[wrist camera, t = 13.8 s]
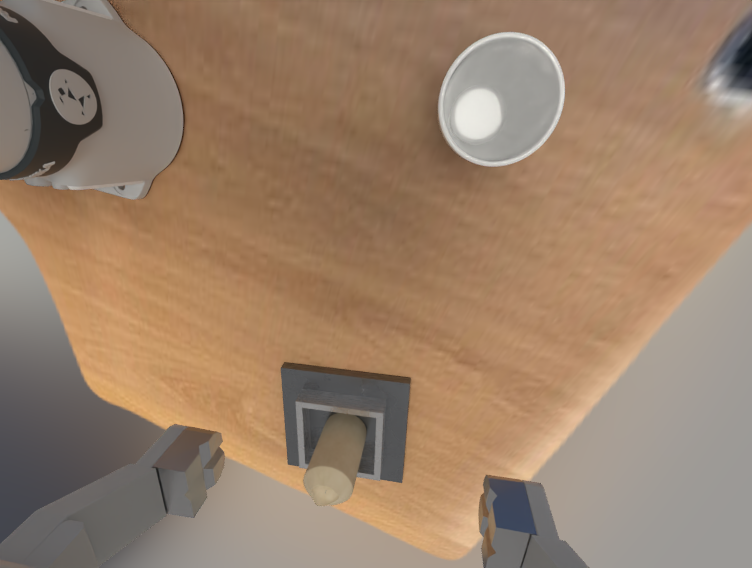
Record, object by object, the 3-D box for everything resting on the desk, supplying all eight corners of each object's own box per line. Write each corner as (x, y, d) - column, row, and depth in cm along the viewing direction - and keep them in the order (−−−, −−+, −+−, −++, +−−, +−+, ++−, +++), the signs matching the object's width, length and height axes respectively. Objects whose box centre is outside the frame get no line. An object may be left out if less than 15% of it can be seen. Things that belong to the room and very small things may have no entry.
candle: (351, 452, 50) (331, 524, 40) (317, 429, 49) (289, 496, 40) (375, 428, 47) (359, 498, 38) (340, 404, 47) (315, 469, 38)
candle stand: (291, 457, 53) (280, 479, 50) (284, 362, 47) (272, 379, 44) (402, 475, 51) (400, 499, 48) (410, 377, 45) (408, 397, 42)
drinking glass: (525, 81, 32) (588, 40, 19) (502, 161, 35) (542, 178, 21) (448, 67, 33) (453, 19, 19) (430, 148, 36) (424, 156, 22)
